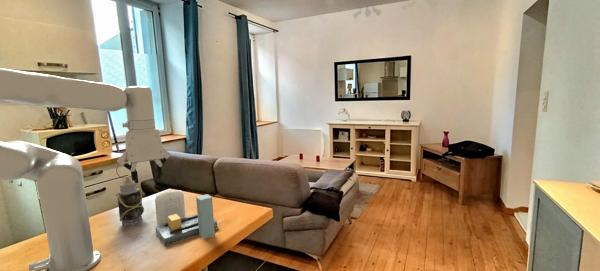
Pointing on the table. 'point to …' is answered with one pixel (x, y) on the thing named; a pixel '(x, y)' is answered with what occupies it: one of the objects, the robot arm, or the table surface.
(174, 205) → the photo printer
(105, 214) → the table surface
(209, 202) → the post
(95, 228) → the table surface
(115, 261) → the table surface
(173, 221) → the block
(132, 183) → the lantern
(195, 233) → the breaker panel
